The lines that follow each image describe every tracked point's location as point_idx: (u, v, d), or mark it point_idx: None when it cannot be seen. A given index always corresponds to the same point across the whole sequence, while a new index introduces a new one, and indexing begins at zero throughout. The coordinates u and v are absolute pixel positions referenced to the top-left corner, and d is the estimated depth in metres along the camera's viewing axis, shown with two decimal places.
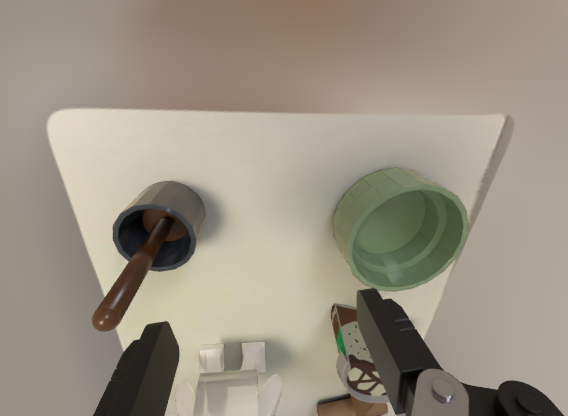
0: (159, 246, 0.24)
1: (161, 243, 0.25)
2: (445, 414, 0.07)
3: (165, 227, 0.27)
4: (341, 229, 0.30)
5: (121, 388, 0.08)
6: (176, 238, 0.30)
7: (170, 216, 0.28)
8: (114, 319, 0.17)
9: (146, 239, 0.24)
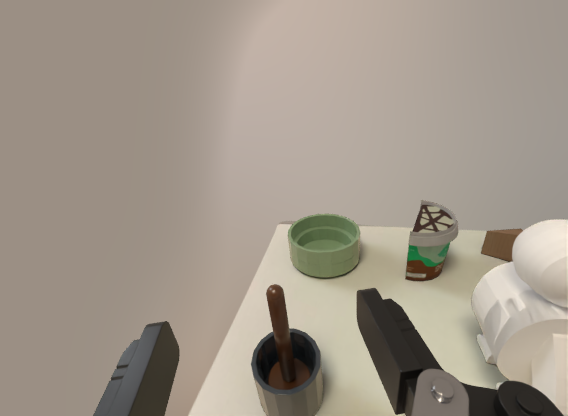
0: None
1: None
2: (445, 414, 0.07)
3: None
4: (316, 263, 0.46)
5: (121, 388, 0.08)
6: (308, 373, 0.31)
7: None
8: None
9: (277, 352, 0.28)
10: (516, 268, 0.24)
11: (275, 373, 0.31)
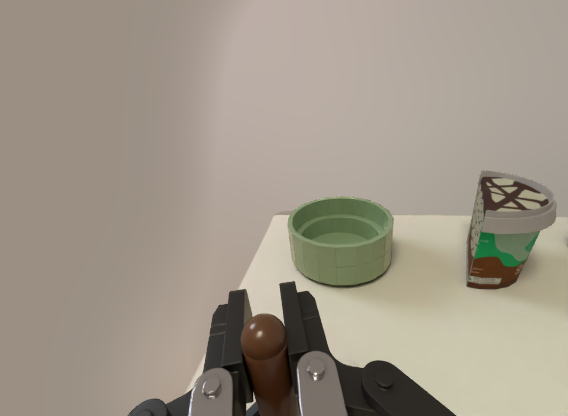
0: None
1: None
2: (310, 388, 0.08)
3: None
4: (332, 264, 0.31)
5: (226, 339, 0.10)
6: None
7: None
8: None
9: None
10: None
11: None
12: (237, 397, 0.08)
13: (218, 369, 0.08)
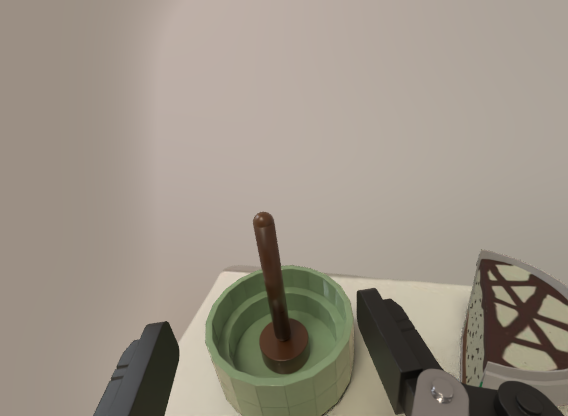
0: None
1: None
2: (445, 414, 0.07)
3: None
4: (255, 403, 0.20)
5: (121, 388, 0.08)
6: (305, 332, 0.26)
7: None
8: None
9: None
10: None
11: (267, 333, 0.27)
12: None
13: None
